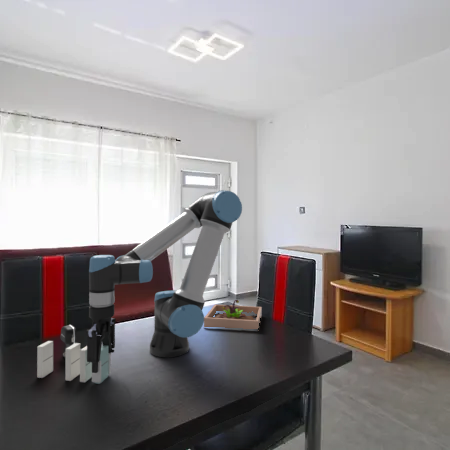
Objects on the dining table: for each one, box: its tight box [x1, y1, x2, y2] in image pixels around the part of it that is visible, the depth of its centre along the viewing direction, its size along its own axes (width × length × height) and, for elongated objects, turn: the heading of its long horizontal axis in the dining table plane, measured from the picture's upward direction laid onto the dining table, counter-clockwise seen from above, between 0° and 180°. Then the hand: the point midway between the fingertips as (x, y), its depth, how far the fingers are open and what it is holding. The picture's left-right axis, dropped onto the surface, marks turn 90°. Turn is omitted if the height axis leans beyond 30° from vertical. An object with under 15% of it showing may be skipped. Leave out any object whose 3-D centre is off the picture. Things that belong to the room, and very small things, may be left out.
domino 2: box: [79, 345, 92, 383], centre depth 105 cm, size 2×5×10 cm, turn 170°
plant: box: [212, 299, 256, 320], centre depth 165 cm, size 20×20×11 cm
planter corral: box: [203, 304, 263, 329], centre depth 164 cm, size 25×25×5 cm
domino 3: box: [94, 344, 109, 385], centre depth 104 cm, size 2×5×10 cm, turn 170°
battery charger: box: [60, 324, 77, 360], centre depth 120 cm, size 7×4×11 cm, turn 42°
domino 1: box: [64, 342, 81, 382], centre depth 105 cm, size 2×5×10 cm, turn 170°
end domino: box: [36, 340, 54, 379], centre depth 107 cm, size 2×5×10 cm, turn 170°
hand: (101, 377), depth 104 cm, fingers closed on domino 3, 5 cm apart
